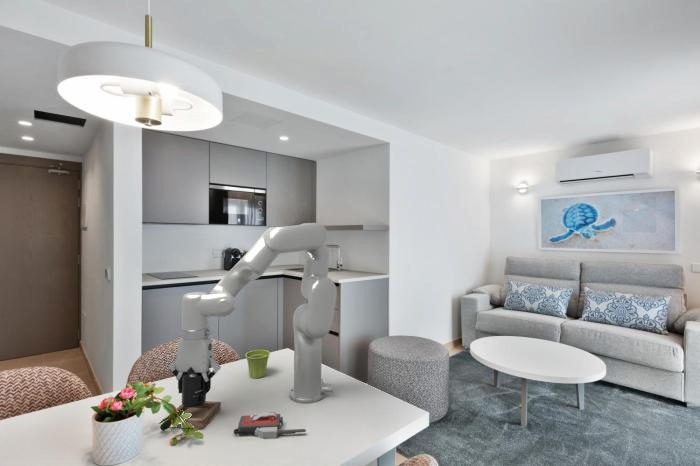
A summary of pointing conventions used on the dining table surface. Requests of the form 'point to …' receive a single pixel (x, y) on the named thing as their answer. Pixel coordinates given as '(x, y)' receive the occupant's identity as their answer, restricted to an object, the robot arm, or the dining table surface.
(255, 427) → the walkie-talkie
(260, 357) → the plant pot
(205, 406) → the wooden tray
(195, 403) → the supplement bottle
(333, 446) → the dining table surface
